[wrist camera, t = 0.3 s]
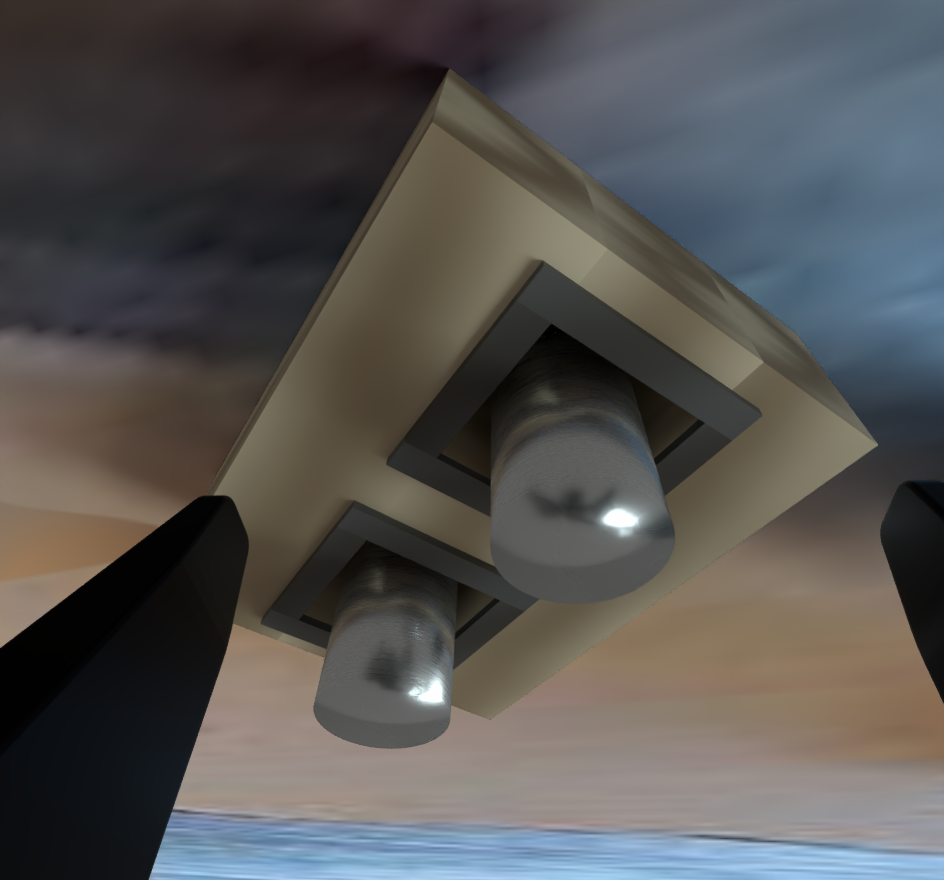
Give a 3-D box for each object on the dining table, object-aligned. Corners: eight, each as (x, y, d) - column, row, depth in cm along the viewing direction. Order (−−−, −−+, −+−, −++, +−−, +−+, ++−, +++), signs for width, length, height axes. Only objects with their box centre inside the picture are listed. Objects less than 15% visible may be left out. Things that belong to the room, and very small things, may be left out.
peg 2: (660, 381, 18) (715, 532, 14) (570, 468, 20) (591, 623, 16) (548, 308, 17) (568, 448, 12) (464, 409, 19) (455, 560, 14)
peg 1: (480, 554, 23) (476, 708, 18) (422, 609, 25) (406, 760, 21) (382, 507, 22) (352, 661, 17) (329, 570, 24) (291, 722, 19)
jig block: (796, 333, 22) (883, 452, 17) (490, 601, 31) (490, 726, 26) (449, 67, 17) (431, 125, 12) (215, 477, 27) (151, 601, 22)
